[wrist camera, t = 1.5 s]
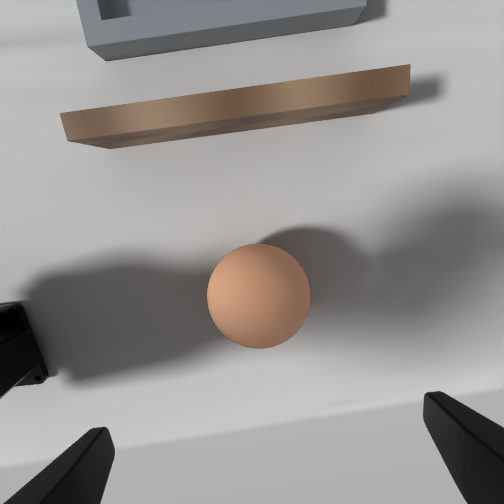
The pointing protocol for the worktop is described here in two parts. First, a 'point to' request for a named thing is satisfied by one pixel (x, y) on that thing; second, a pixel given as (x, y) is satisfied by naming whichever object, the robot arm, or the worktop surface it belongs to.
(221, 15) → the dish
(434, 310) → the worktop surface
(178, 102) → the fence
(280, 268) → the ball
